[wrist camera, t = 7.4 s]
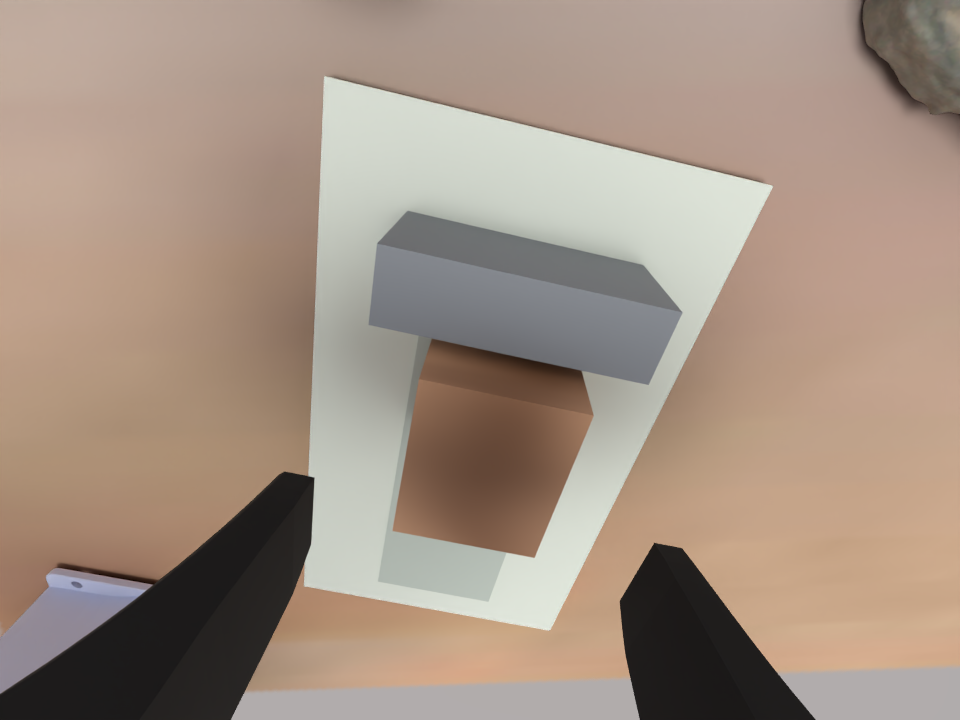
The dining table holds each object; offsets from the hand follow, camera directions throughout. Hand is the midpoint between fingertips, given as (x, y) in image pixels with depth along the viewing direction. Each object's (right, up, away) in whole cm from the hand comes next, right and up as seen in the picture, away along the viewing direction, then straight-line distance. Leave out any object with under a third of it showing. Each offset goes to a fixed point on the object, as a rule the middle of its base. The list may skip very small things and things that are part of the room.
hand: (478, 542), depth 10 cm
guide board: (0, +1, +8) cm, 8 cm away
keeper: (0, +4, +6) cm, 7 cm away
